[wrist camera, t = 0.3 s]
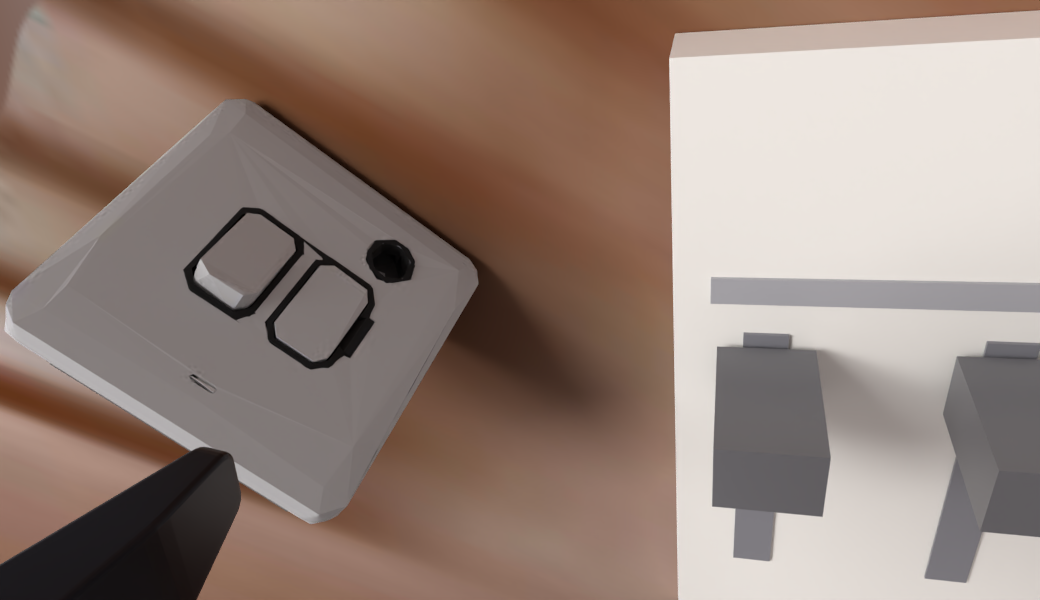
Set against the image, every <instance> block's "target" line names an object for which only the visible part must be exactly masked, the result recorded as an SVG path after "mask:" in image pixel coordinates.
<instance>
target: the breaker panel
mask: <svg viewBox="0 0 1040 600" xmlns="http://www.w3.org/2000/svg"><path fill="white" fill-rule="evenodd" d="M669 63H670V125H671V186H672V248H673V309H674V371H675V432H676V494H677V556H678V600H1040V537H1031V536H1021V535H1010V534H999V533H989V532H980V530H979V527H978V524H977V521H976V518H975V514H974V511H973V508H972V505H971V502H970V499H969V495H968V492H967V489H966V486H965V483H964V480H963V476H962V473H961V470H960V467H959V464H958V461H957V457H956V454H955V451H954V448H953V445H952V442H951V438H950V435H949V432H948V429H947V426H946V423H945V419H944V416H943V411H944V407H945V403H946V399H947V394H948V390H949V386H950V382H951V378H952V374H953V370H954V366H955V361H956V357H957V356H963V357H988V358H1012V359H1037V360H1040V10H1039V11H1023V12H1008V13H992V14H976V15H960V16H944V17H928V18H913V19H897V20H881V21H865V22H849V23H833V24H818V25H802V26H786V27H770V28H754V29H739V30H723V31H707V32H691V33H675V36H674V41H673V45H672V49H671V53H670V58H669ZM717 346H719V347H744V348H768V349H792V350H816V351H817V358H818V366H819V373H820V381H821V388H822V396H823V403H824V410H825V418H826V425H827V433H828V440H829V448H830V455H831V461H830V468H829V475H828V482H827V489H826V496H825V503H824V511H823V517H819V516H808V515H797V514H787V513H776V512H765V511H755V510H744V509H733V508H723V507H712V487H713V444H714V416H715V389H716V361H717Z"/></svg>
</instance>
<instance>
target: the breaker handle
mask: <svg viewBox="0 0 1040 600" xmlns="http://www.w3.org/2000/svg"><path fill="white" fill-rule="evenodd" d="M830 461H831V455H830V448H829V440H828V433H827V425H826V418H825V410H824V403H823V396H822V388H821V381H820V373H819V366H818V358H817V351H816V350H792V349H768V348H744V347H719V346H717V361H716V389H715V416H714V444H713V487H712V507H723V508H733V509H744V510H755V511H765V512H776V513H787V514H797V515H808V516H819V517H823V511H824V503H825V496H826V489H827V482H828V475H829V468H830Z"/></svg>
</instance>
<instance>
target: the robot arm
mask: <svg viewBox="0 0 1040 600" xmlns="http://www.w3.org/2000/svg"><path fill="white" fill-rule="evenodd" d="M240 501H241V491H240V486H239V481H238V477H237V472H236V467H235V463H234V459H233V457H232V455H231V454H230V453H228V452H226V451H222V450H218V449H213V448H209V447H199V448H196V449H194V450H192V451H190V452H189V453H187V454H185V455H184V456H182V457H180V458H178V459H177V460H175V461H173V462H172V463H170V464H168V465H167V466H165V467H163V468H162V469H160V470H158V471H157V472H155V473H153V474H152V475H150V476H148V477H147V478H145V479H143V480H141V481H140V482H138V483H136V484H135V485H133V486H131V487H130V488H128V489H126V490H125V491H123V492H121V493H120V494H118V495H116V496H115V497H113V498H111V499H110V500H108V501H106V502H105V503H103V504H101V505H99V506H98V507H96V508H94V509H93V510H91V511H89V512H88V513H86V514H84V515H83V516H81V517H79V518H78V519H76V520H74V521H73V522H71V523H69V524H68V525H66V526H64V527H62V528H61V529H59V530H57V531H56V532H54V533H52V534H51V535H49V536H47V537H46V538H44V539H42V540H41V541H39V542H37V543H36V544H34V545H32V546H31V547H29V548H27V549H25V550H24V551H22V552H20V553H19V554H17V555H15V556H14V557H12V558H10V559H9V560H7V561H5V562H4V563H2V564H0V600H197V598H198V595H199V593H200V591H201V589H202V587H203V585H204V583H205V580H206V578H207V576H208V574H209V572H210V570H211V568H212V565H213V563H214V561H215V559H216V557H217V555H218V553H219V550H220V548H221V546H222V544H223V542H224V540H225V538H226V535H227V533H228V531H229V529H230V527H231V525H232V523H233V520H234V518H235V516H236V514H237V512H238V509H239V506H240Z"/></svg>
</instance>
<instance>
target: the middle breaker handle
mask: <svg viewBox="0 0 1040 600" xmlns="http://www.w3.org/2000/svg"><path fill="white" fill-rule="evenodd" d="M943 416H944V419H945V423H946V426H947V429H948V432H949V435H950V438H951V442H952V445H953V448H954V451H955V454H956V457H957V461H958V464H959V467H960V470H961V473H962V476H963V480H964V483H965V486H966V489H967V492H968V495H969V499H970V502H971V505H972V508H973V511H974V514H975V518H976V521H977V524H978V527H979V530H980V532H989V533H999V534H1010V535H1021V536H1031V537H1040V360H1037V359H1012V358H988V357H963V356H957V357H956V361H955V366H954V370H953V374H952V378H951V382H950V386H949V390H948V394H947V399H946V403H945V407H944V411H943Z"/></svg>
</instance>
